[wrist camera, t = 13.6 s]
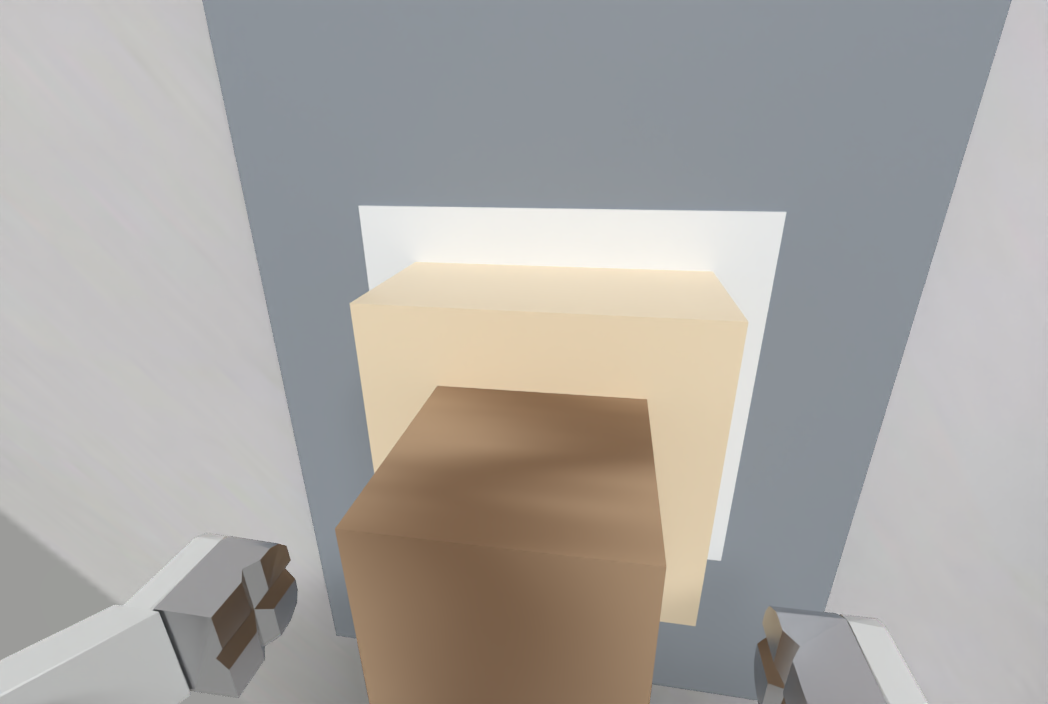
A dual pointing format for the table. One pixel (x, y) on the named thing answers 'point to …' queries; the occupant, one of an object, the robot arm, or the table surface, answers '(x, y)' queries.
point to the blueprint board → (611, 248)
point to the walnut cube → (509, 553)
